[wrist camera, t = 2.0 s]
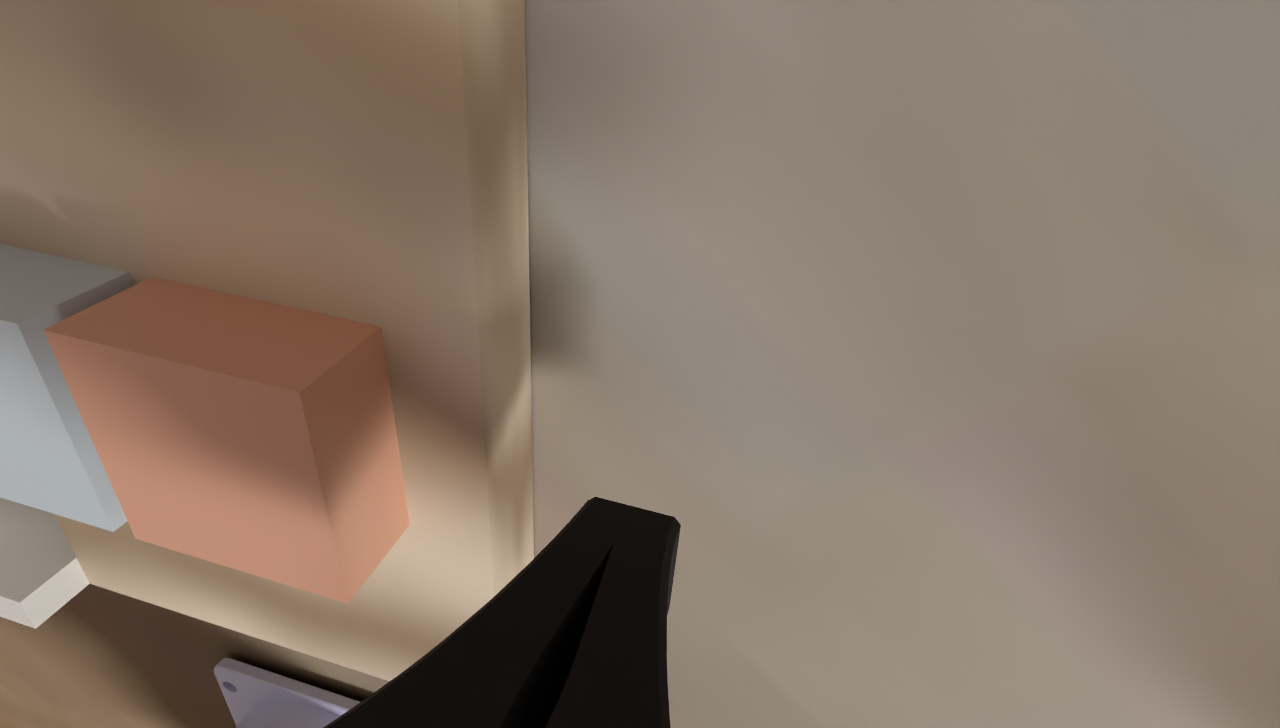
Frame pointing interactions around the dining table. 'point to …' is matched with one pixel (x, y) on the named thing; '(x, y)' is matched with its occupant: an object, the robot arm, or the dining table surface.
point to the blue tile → (49, 389)
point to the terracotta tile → (241, 430)
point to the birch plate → (307, 254)
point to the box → (35, 565)
